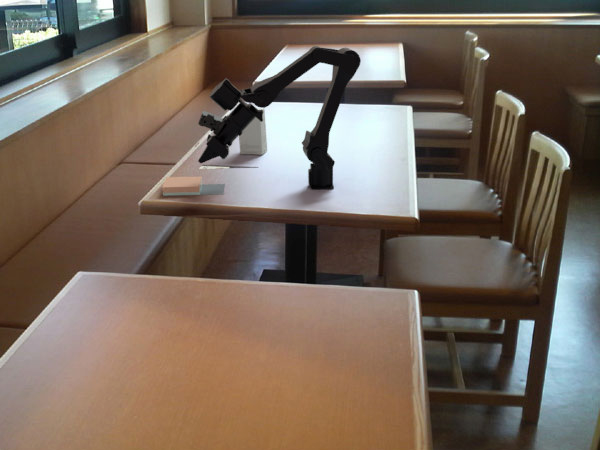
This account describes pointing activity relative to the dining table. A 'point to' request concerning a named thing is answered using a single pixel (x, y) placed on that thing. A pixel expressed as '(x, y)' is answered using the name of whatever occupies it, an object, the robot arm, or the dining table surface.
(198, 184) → the tile
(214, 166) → the chocolate bar
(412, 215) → the dining table surface
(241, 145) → the skincare box
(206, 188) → the mat
